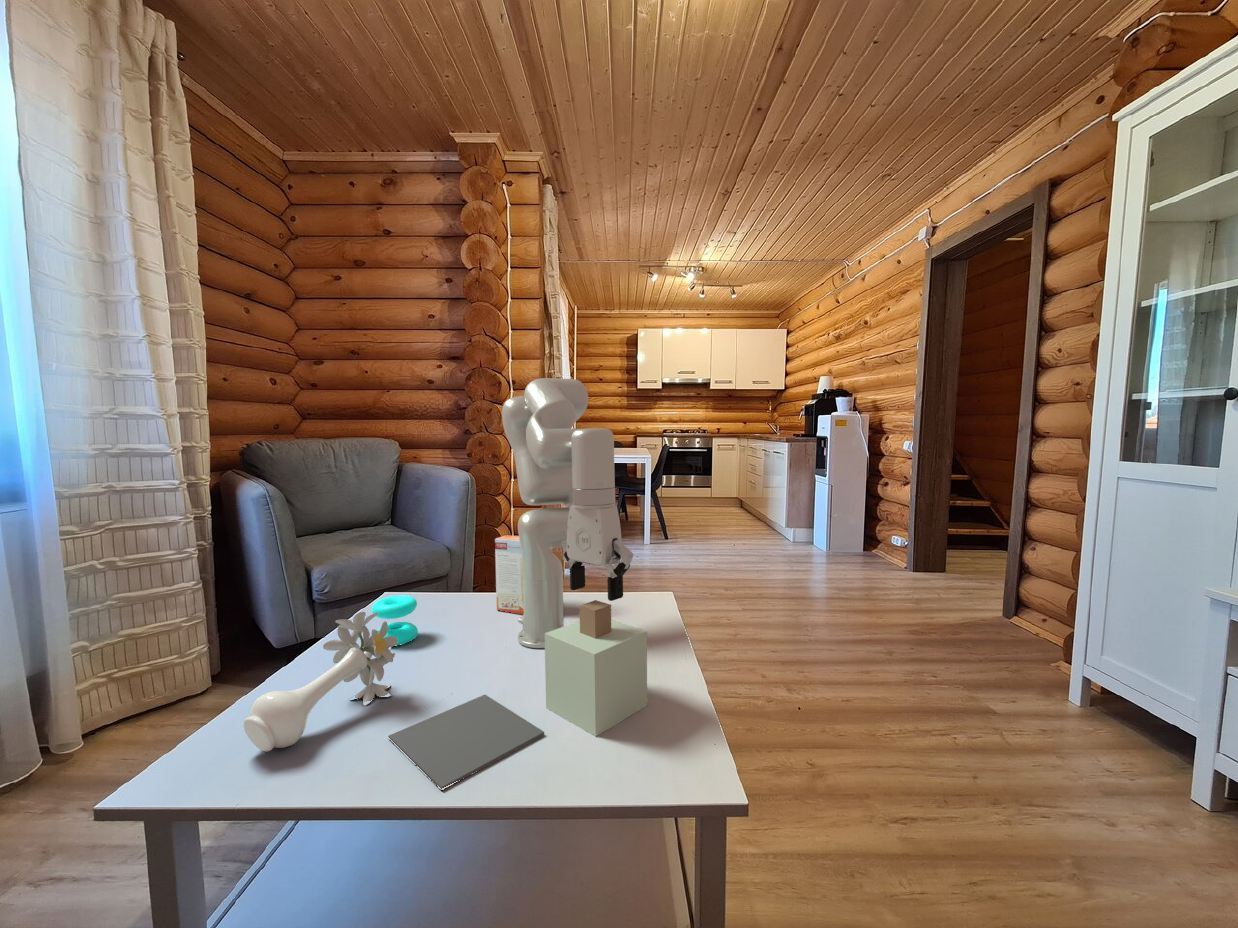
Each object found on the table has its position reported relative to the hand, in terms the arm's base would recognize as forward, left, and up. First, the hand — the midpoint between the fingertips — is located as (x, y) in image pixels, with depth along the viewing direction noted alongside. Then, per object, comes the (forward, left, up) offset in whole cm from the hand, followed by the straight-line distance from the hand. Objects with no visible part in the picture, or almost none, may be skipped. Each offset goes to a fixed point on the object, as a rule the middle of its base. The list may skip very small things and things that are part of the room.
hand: (596, 593), depth 91 cm
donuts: (-58, -12, -21) cm, 63 cm away
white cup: (0, 0, -21) cm, 21 cm away
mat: (-9, -21, -21) cm, 31 cm away
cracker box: (-52, +21, -21) cm, 60 cm away
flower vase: (-32, -34, -21) cm, 52 cm away
